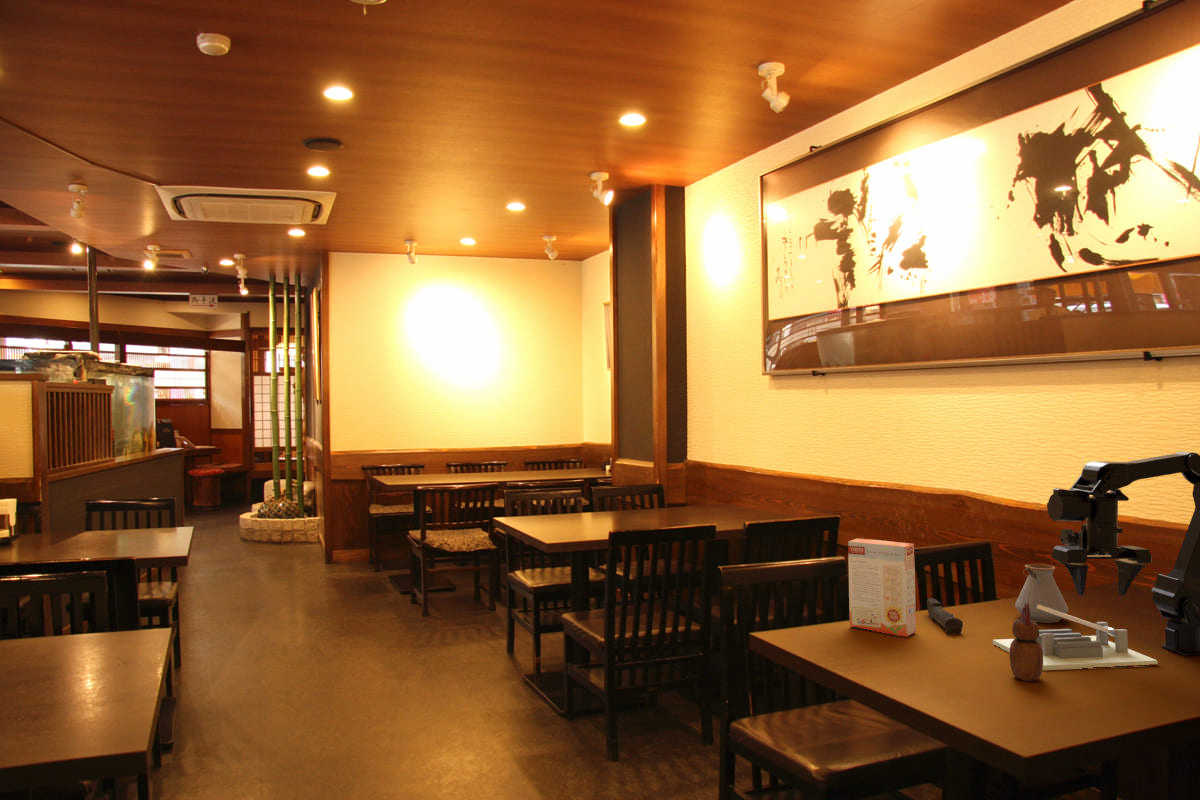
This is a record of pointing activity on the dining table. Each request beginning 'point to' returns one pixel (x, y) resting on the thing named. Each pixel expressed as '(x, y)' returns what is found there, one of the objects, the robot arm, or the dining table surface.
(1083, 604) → the dining table surface
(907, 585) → the cracker box
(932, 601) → the hand tool
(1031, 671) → the wooden figurine
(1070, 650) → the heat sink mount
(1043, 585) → the coffee pot
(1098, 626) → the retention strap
